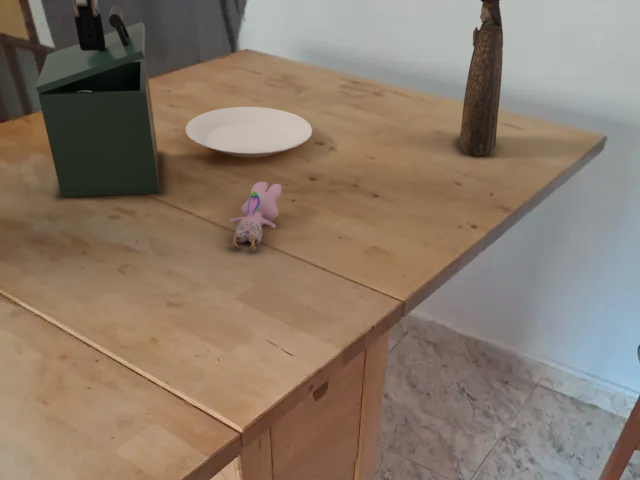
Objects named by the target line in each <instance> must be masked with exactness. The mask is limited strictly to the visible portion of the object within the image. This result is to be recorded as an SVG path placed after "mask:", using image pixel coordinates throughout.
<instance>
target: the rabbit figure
mask: <svg viewBox="0 0 640 480" xmlns="http://www.w3.org/2000/svg"><path fill="white" fill-rule="evenodd" d="M268 186H269V182H267V181H258V182H255V184H254V185H252V187H251V189H250V195H249V197H248V199H247V200H246V202H245V203H243V205H242V206H241V208H240V209H241V213H242V215H243V216H238V217H233V218H231V219H229V223H230V224H235V223H238V224H237V225H236V228H235V231H234V236H233V238H232V239H233V240H232V243H231V247H234V248H233V250H236V247H237V248H239V246H238V244H237V242H238V243H239V244H244V243H246V242H249V243H250V244H251V245H250V246H249V248H248V249H249V250H250V249H252V252H253V253H255V250H257V245H259V244H260V243H261V241H262V240H263V226H264V225H266V226H269V227H271V229H276V228H277V226H276V224H275V223H274V222H272V221H274V220H275V219H277V217H278V216H279V211H278V210H279V209H278V207H277V202H278V200H279V199H280V197H281V195H282V187H283V186H282V185H281V184H280V183H274V184H272V185H271V186H270V187H269V189H268Z"/></svg>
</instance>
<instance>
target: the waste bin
mask: <svg viewBox="0 0 640 480" xmlns="http://www.w3.org/2000/svg"><path fill="white" fill-rule="evenodd" d="M148 73H149V72H148V64H147V59H139V60H136V61H133V62H130V63H127V64H124V65H121V66H119V67H116V68H113V69H110V70H107V71H104V72H101V73H98V74H95V75H92V76H90V77H87V78H84V79H81V80H78V81H75V82H72V83H69V84H66V85H63V86H61V87H58V88H55V89H52V90H49V91H46V92H43V93H40V94H39V93H38V100H39V105H40V110H41V113H42V118H43V123H44V126H45V130H46V136H47V139H48V144H49V149H50V153H51V156H52V162H53V166H54V169H55V175H56V179H57V183H58V187H59V191H60V196H61V198H74V197H75V198H76V197H97V196H98V197H99V196H100V197H101V196H119V195H120V196H121V195H124V196H125V195H143V194H145V195H146V194H147V195H148V194H159V193H160V185H159V183H160V181H159V179H160V178H159V152H158V144H157V135H156V126H155V120H154V112H153V103H152V95H151V88H150V80H149V74H148ZM80 90H90V91H94V92H77V91H80Z"/></svg>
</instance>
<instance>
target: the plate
mask: <svg viewBox="0 0 640 480" xmlns="http://www.w3.org/2000/svg"><path fill="white" fill-rule="evenodd" d="M185 133H186V135H187V137H188V138H189V139H190V140H191V141H192V142H194V143H196V144H197V145H199V146H202V147H205V148H207V149H210V150H213V151H214V152H215V151H216V152H218V153H221V154H222V155H227V156H231V157H236V158H237V157H238V158H251V159H253V158H265V157H270V156H274V155H279V154H281V153H283V152H286V151H287V150H290V149H294V148H297V147H299V146H301V145H302V144H304V143H306V142H307V141H308V140H309V139H311V137H312V134H313V128H312V126H311V124H310V123H309V122H308V121H307V120H306V119H305V118H303V117H301V116H299V115H298V114H295V113H291V112H289V111H286V110H280V109H277V108H272V107H271V108H270V107H261V106H235V107H233V106H231V107H225V108H224V107H223V108H218V109H214V110H211V111H210V110H209V111H205V112H203V113H202V114H199V115H197V116H195V117H194V118H192V119H191V120H189V121H188V122H187V124H186V126H185Z"/></svg>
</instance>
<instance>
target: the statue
mask: <svg viewBox="0 0 640 480" xmlns="http://www.w3.org/2000/svg"><path fill="white" fill-rule="evenodd" d="M500 1H501V0H480V2H482V4H481V10H480V14H479V19H480V21H481V25H480V28H478V27H477V26H475V27H474V30H473V31H472V46H473V50H472V53H471V54H472V55H471V59H470V64H469V69H468V74H467V80H466V86H465V92H464V97H463V98H464V99H463V106H462V115H461V116H462V117H461V127H460V132H459V133H460V134H459V147H460V148H461V152H464V153H465V154H466V155H469V156H477V157H480V156H486V155H487V154H490V153H491V152H492V150H493V149H494V147H495V146H496V142H497V132H498V131H497V130H498V118H499V117H498V116H499V108H500V99H501V88H502V76H503V75H502V74H503V61H504V60H503V56H504V55H503V51H504V49H503V47H504V32H503V31H504V30H503V22H502V14H501V7H500Z"/></svg>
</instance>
